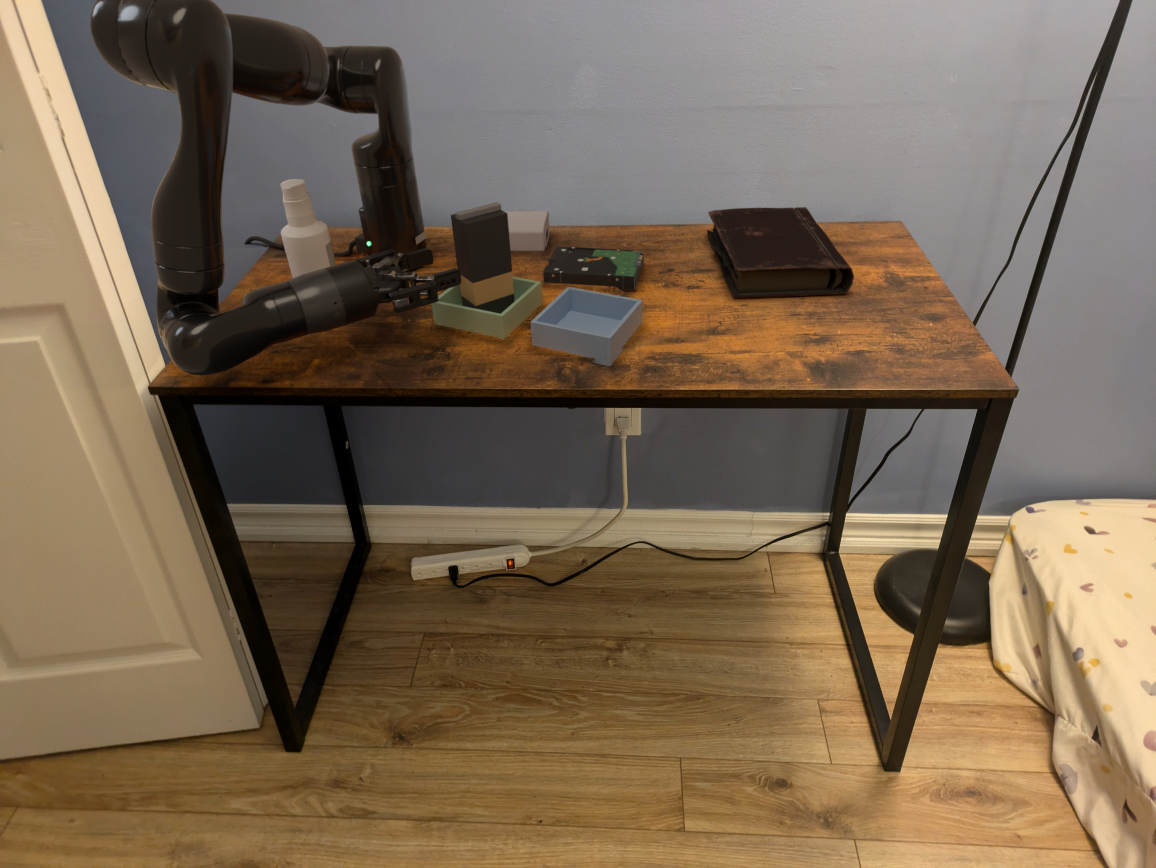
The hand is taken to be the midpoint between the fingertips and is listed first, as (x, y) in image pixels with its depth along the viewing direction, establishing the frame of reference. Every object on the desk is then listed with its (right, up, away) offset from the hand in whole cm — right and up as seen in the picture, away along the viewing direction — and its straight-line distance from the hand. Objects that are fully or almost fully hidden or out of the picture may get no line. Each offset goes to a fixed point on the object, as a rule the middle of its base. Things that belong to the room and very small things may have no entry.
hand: (445, 265), depth 104 cm
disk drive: (+21, +2, +19) cm, 29 cm away
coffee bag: (+5, -5, +8) cm, 11 cm away
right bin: (+20, -10, +3) cm, 22 cm away
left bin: (+5, -6, +9) cm, 12 cm away
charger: (+5, +10, +31) cm, 33 cm away
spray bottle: (-22, -2, +16) cm, 27 cm away
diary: (+50, +5, +21) cm, 55 cm away
